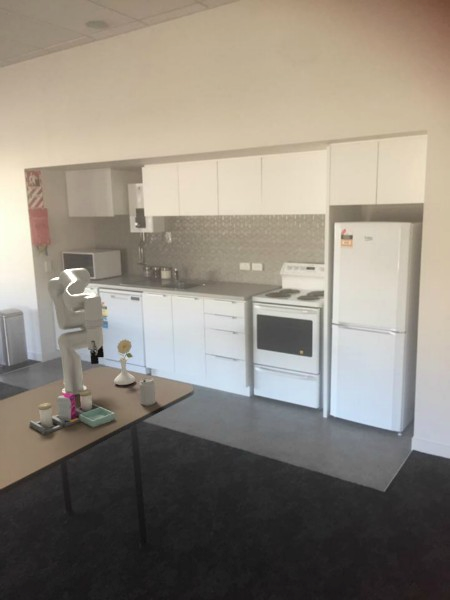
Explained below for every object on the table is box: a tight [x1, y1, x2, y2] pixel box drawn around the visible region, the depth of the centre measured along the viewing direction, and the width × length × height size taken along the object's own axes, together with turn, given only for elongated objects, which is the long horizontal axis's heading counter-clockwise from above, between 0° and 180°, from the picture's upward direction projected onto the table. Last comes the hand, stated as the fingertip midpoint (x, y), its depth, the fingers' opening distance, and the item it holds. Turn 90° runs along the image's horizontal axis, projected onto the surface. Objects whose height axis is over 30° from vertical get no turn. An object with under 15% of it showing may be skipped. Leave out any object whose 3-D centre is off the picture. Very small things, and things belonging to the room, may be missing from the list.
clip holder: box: [28, 402, 101, 435], centre depth 228 cm, size 13×30×2 cm, turn 137°
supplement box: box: [56, 393, 77, 423], centre depth 227 cm, size 6×6×12 cm
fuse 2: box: [79, 389, 93, 412], centre depth 234 cm, size 5×5×10 cm
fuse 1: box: [38, 402, 54, 430], centre depth 220 cm, size 5×5×10 cm
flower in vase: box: [113, 338, 136, 386], centre depth 270 cm, size 13×11×25 cm
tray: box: [78, 406, 116, 428], centre depth 226 cm, size 11×11×3 cm
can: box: [138, 377, 157, 407], centre depth 242 cm, size 8×8×12 cm
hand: (97, 360), depth 226 cm, fingers open, 9 cm apart
